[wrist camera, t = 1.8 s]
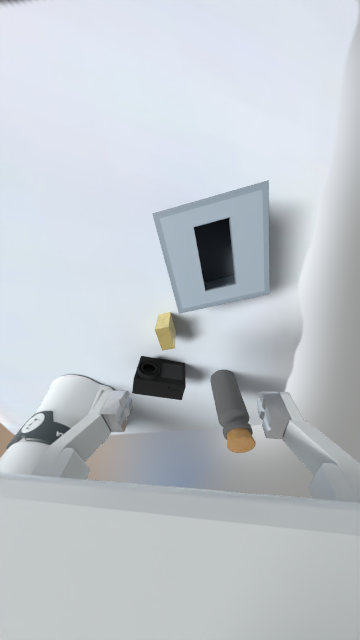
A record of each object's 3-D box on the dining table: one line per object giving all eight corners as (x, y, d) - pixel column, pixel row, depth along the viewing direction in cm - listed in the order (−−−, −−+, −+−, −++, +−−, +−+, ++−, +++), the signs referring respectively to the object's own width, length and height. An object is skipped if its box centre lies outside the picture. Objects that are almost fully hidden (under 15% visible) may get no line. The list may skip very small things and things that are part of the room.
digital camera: (186, 358, 40) (187, 382, 34) (181, 376, 42) (182, 400, 36) (141, 351, 39) (134, 374, 33) (139, 369, 41) (132, 393, 35)
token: (175, 331, 36) (175, 348, 31) (164, 333, 37) (162, 350, 31) (170, 312, 34) (168, 326, 29) (158, 314, 35) (154, 329, 29)
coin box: (243, 276, 31) (269, 293, 22) (179, 291, 32) (179, 313, 24) (238, 198, 26) (268, 180, 17) (161, 220, 27) (152, 213, 18)
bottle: (238, 374, 42) (266, 440, 28) (226, 389, 44) (246, 457, 31) (217, 366, 41) (235, 432, 27) (206, 383, 43) (217, 450, 30)
